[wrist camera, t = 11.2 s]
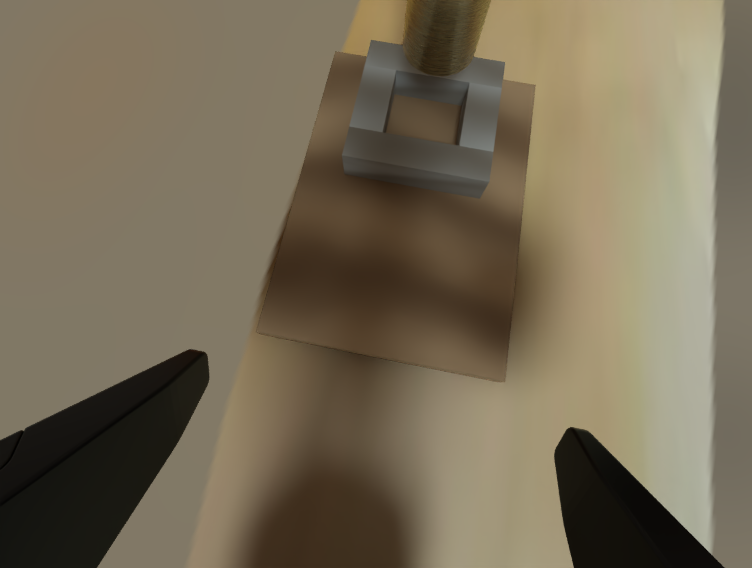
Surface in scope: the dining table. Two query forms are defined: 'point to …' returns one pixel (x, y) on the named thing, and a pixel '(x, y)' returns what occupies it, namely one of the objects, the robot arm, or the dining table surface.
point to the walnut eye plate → (407, 216)
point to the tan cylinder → (442, 34)
